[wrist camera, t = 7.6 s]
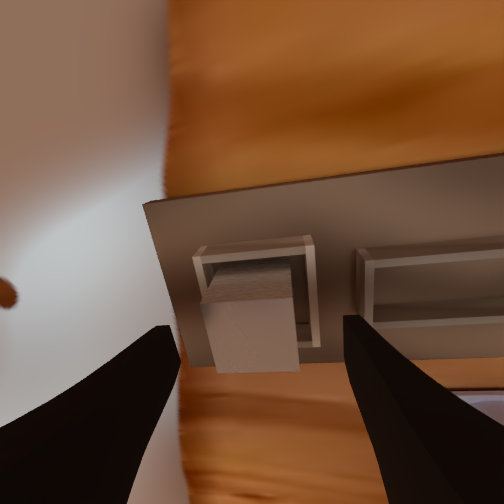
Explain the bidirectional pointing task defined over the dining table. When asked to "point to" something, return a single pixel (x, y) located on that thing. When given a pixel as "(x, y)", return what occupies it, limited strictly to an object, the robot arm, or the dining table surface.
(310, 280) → the socket board
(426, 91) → the dining table surface
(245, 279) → the square peg
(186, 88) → the dining table surface
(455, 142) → the dining table surface
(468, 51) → the dining table surface
